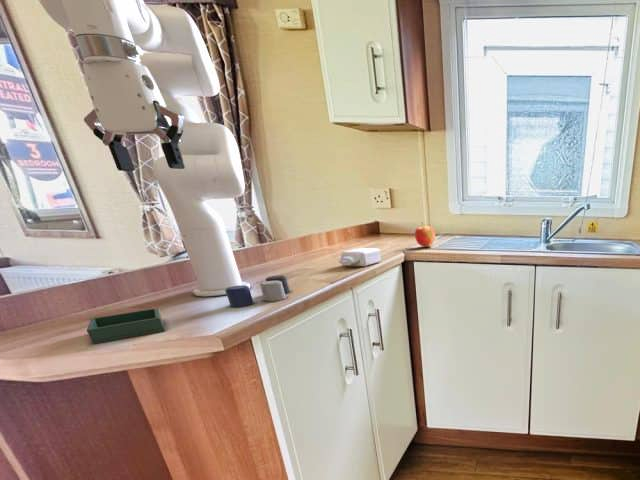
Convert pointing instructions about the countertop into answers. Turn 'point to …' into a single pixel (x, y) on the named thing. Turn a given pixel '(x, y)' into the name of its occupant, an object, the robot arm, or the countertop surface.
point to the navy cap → (239, 296)
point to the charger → (360, 257)
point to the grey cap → (272, 290)
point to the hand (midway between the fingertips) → (152, 169)
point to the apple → (425, 236)
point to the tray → (125, 325)
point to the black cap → (282, 279)
